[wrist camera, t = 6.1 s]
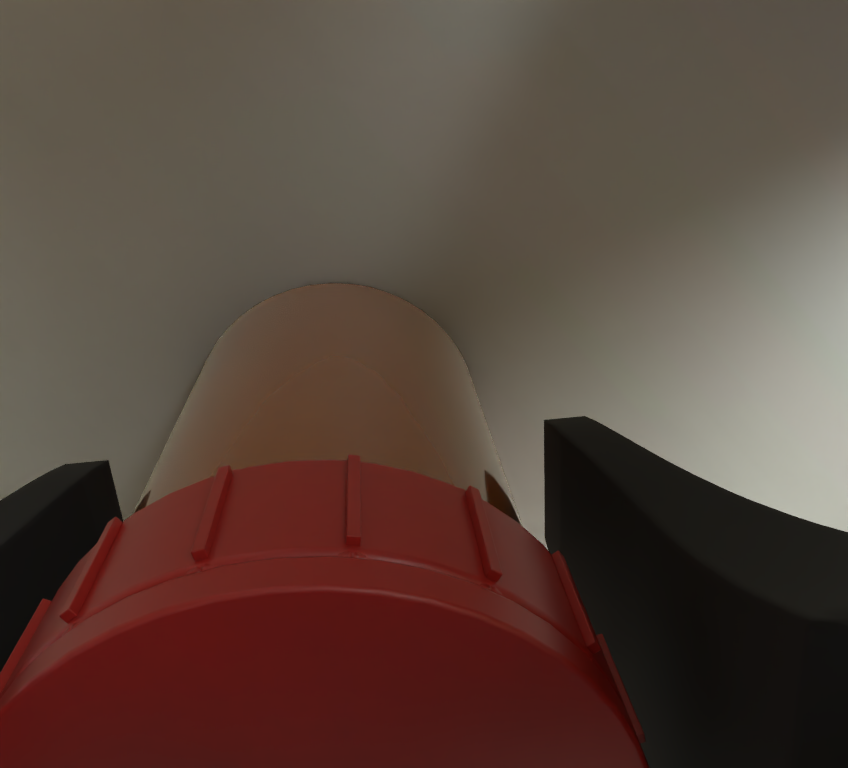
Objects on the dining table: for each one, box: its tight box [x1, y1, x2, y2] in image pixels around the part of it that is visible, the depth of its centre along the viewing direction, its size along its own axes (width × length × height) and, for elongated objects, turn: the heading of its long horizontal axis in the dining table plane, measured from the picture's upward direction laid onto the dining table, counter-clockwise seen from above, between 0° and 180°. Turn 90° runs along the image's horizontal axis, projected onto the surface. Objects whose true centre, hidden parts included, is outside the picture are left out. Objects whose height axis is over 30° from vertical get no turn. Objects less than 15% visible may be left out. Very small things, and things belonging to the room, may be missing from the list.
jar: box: [132, 283, 523, 527], centre depth 11 cm, size 5×5×8 cm
